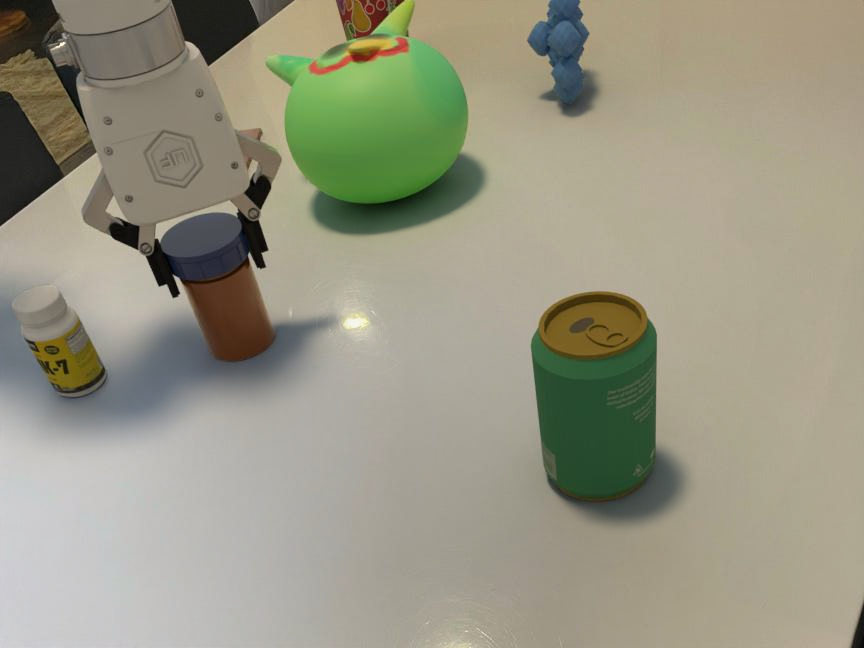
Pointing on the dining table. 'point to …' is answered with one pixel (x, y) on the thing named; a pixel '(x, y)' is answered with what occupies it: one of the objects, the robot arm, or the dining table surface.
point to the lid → (205, 246)
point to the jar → (231, 313)
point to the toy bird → (374, 114)
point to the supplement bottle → (59, 341)
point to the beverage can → (596, 394)
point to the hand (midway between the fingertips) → (216, 273)
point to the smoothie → (364, 15)
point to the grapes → (562, 46)
